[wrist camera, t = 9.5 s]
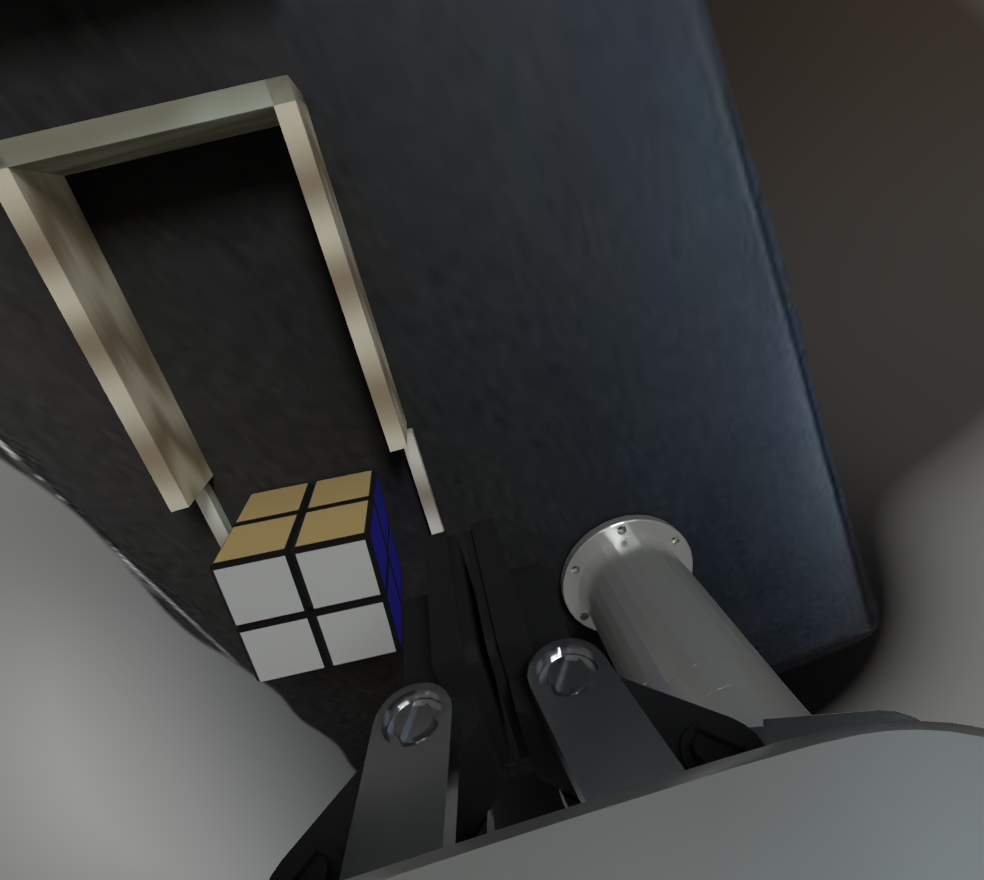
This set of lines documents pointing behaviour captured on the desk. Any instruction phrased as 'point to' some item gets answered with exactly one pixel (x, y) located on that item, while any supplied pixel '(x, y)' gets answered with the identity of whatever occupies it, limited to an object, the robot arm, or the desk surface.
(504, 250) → the desk surface
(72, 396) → the desk surface
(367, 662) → the desk surface
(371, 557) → the puzzle cube
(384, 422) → the wooden frame
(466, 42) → the desk surface
